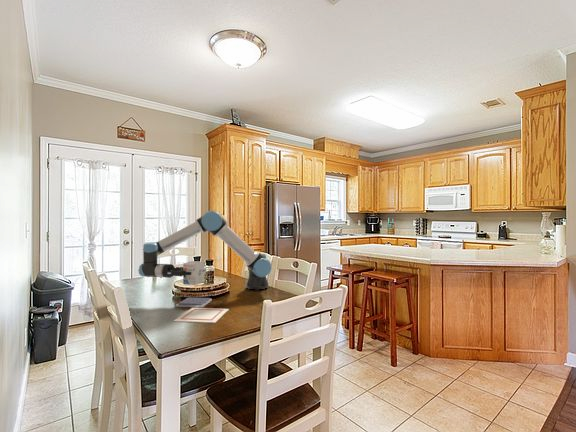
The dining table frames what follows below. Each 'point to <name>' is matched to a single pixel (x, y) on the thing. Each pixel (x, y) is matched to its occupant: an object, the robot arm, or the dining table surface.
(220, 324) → the dining table surface
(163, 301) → the dining table surface
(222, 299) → the dining table surface
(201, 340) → the dining table surface
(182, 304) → the ink pad
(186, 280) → the ink box
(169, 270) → the robot arm
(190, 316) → the marked sheet
